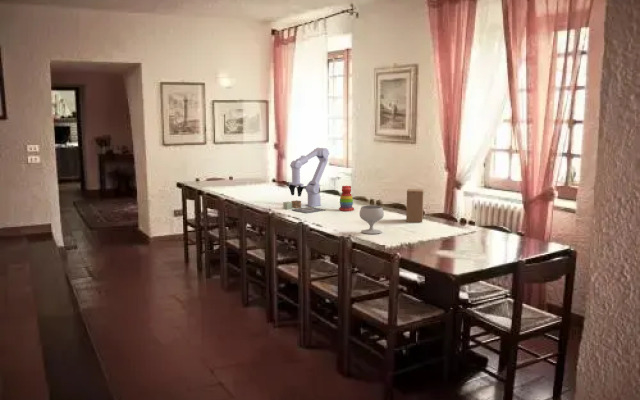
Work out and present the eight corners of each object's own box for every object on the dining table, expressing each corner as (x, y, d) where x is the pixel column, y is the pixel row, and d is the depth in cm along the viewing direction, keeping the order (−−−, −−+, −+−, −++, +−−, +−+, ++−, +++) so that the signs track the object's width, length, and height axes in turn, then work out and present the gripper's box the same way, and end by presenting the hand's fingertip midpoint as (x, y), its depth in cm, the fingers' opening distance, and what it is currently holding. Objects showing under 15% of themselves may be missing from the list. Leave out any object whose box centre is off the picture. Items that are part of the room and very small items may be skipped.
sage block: (288, 208, 410) (288, 201, 409) (291, 209, 407) (291, 202, 406) (283, 209, 407) (283, 202, 406) (287, 209, 404) (287, 202, 403)
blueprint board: (310, 207, 412) (310, 206, 412) (325, 210, 401) (325, 209, 401) (291, 210, 400) (291, 209, 400) (306, 213, 389) (306, 212, 389)
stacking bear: (354, 209, 405) (354, 184, 402) (353, 211, 395) (353, 186, 392) (339, 209, 406) (339, 184, 403) (338, 211, 396) (338, 186, 393)
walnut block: (296, 207, 416) (296, 200, 415) (301, 207, 412) (300, 201, 411) (291, 207, 412) (291, 201, 412) (295, 208, 409) (295, 201, 408)
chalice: (362, 235, 318) (363, 209, 316) (356, 230, 332) (356, 205, 330) (386, 234, 321) (387, 208, 319) (379, 229, 335) (379, 204, 332)
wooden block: (422, 222, 355) (423, 191, 352) (406, 222, 357) (406, 190, 354) (422, 219, 365) (423, 189, 361) (407, 219, 367) (407, 188, 363)
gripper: (285, 176, 411) (285, 195, 414) (298, 178, 401) (298, 197, 403) (292, 176, 416) (293, 194, 418) (305, 177, 405) (305, 196, 408)
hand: (296, 195), depth 411 cm, fingers open, 7 cm apart
